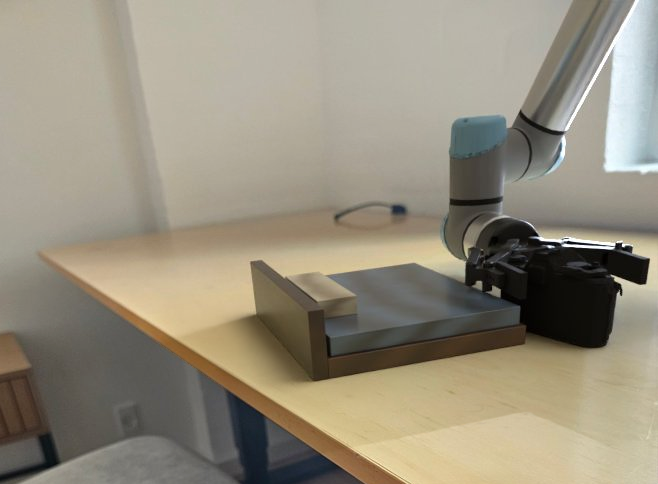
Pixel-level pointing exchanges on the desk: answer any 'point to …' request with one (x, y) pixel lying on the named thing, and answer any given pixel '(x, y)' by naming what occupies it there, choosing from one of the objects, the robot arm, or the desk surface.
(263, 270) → the bed
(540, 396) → the desk surface
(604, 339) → the film camera
